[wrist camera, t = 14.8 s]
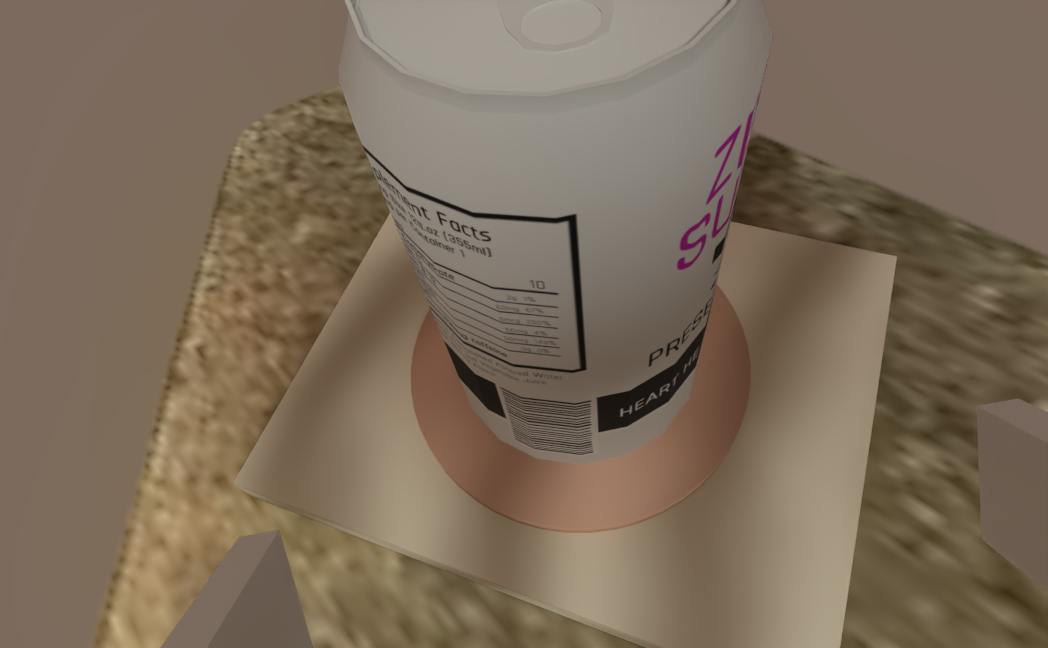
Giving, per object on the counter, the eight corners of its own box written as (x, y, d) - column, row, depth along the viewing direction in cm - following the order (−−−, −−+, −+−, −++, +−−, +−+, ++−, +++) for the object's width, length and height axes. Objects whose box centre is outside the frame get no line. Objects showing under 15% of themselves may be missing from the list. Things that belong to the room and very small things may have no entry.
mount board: (883, 279, 28) (902, 247, 26) (817, 713, 21) (836, 710, 19) (430, 179, 33) (419, 146, 31) (251, 496, 26) (225, 477, 24)
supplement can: (450, 291, 27) (305, -115, 14) (659, 247, 27) (703, -198, 14) (480, 493, 23) (312, 175, 10) (728, 441, 23) (877, 57, 10)
